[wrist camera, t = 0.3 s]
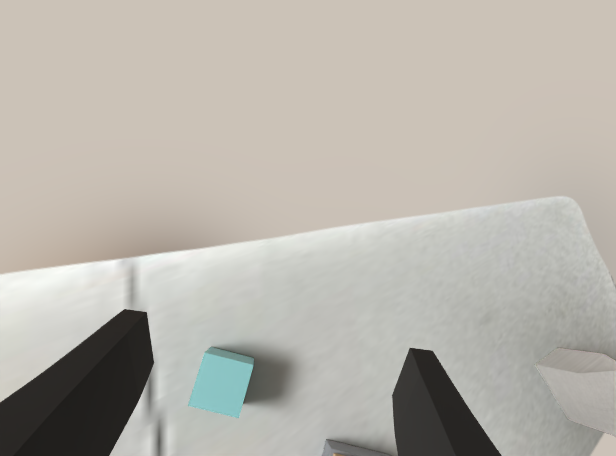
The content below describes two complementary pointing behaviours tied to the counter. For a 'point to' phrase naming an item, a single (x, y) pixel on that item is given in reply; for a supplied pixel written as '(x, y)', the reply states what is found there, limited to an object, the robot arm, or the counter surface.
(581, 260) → the counter surface
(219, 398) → the teal block
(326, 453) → the tower base
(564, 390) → the tea box
